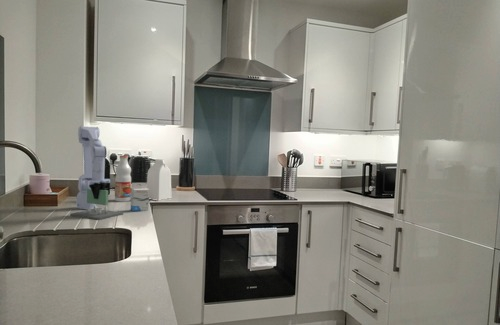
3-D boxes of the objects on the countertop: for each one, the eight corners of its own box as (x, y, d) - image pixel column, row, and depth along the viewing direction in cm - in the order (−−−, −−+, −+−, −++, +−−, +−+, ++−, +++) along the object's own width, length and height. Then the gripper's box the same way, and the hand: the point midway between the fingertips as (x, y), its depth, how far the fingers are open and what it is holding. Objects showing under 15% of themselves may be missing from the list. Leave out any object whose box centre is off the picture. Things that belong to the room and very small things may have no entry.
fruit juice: (118, 199, 233) (120, 155, 232) (133, 200, 232) (134, 155, 231) (111, 201, 223) (112, 155, 222) (126, 202, 222) (127, 156, 221)
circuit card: (86, 203, 182) (87, 188, 182) (89, 202, 184) (89, 188, 183) (105, 205, 178) (105, 190, 177) (107, 204, 179) (108, 190, 179)
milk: (145, 198, 239) (146, 159, 237) (158, 197, 248) (159, 158, 247) (158, 201, 232) (160, 160, 231) (171, 199, 242) (172, 159, 241)
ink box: (132, 211, 194) (133, 183, 193) (130, 210, 198) (131, 182, 197) (148, 210, 198) (149, 183, 198) (145, 209, 203) (146, 182, 202)
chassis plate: (70, 215, 177) (70, 207, 177) (95, 210, 192) (95, 203, 191) (99, 219, 170) (99, 211, 170) (123, 214, 185) (123, 206, 185)
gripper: (93, 172, 172) (92, 201, 172) (115, 170, 185) (114, 197, 186) (81, 171, 174) (81, 199, 175) (104, 169, 188) (103, 196, 188)
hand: (97, 198), depth 180 cm, fingers closed on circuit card, 1 cm apart
